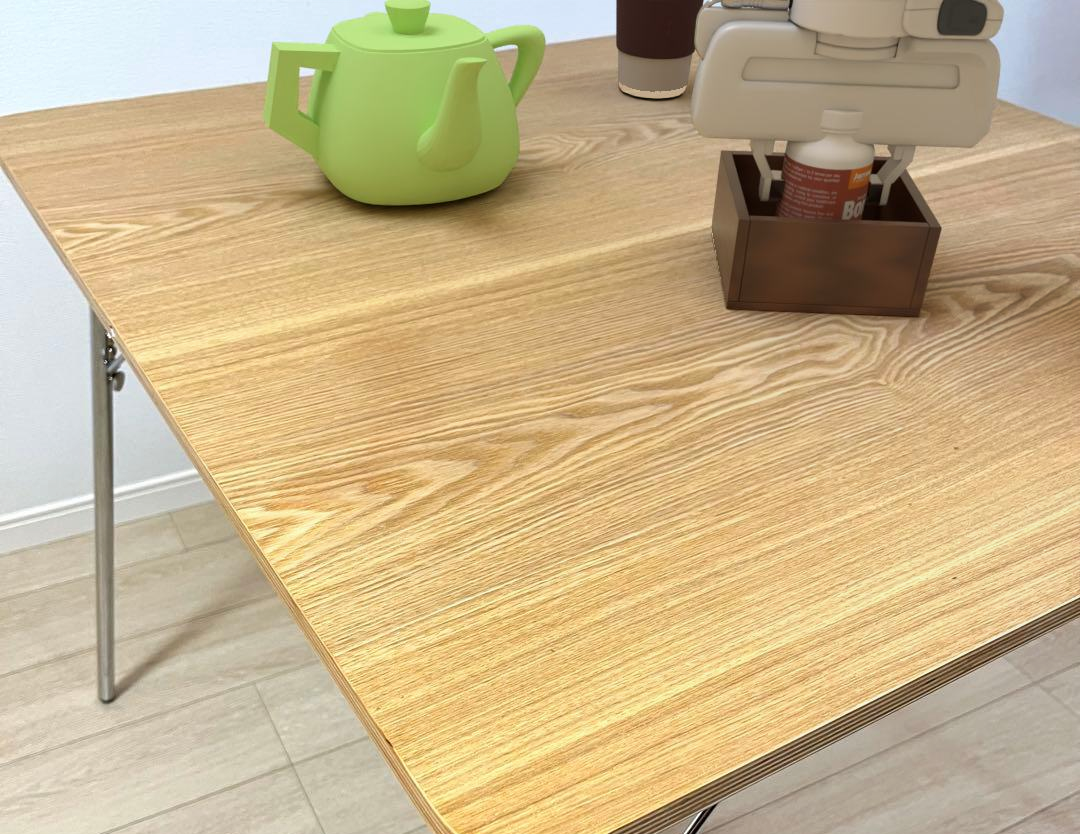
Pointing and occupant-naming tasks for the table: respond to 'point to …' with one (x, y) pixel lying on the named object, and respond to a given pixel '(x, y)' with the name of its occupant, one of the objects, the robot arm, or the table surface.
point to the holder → (820, 248)
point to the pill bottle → (827, 171)
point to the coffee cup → (655, 42)
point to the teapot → (405, 104)
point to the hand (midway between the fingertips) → (821, 201)
